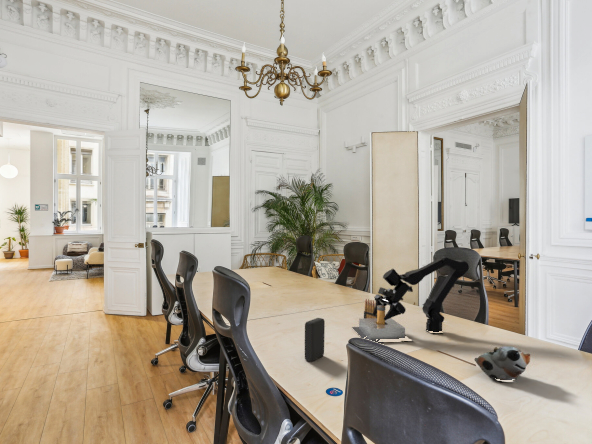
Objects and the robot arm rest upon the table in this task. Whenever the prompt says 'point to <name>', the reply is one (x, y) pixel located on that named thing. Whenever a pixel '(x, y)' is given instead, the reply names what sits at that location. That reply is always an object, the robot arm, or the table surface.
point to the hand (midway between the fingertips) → (378, 317)
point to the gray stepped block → (379, 329)
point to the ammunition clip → (369, 309)
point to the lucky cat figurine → (503, 362)
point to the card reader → (314, 339)
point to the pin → (380, 315)
